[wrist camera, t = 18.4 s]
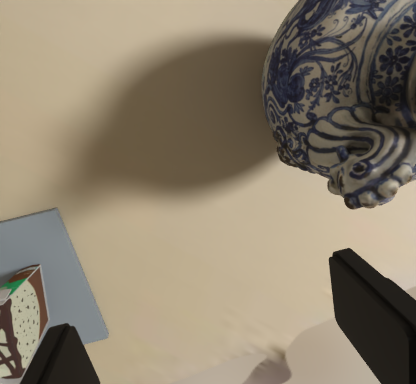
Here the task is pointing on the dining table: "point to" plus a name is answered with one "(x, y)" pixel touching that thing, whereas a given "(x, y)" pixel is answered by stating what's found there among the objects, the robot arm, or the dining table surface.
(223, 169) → the dining table surface
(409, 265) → the dining table surface
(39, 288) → the food container
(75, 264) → the slate mat
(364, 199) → the decorative vase
